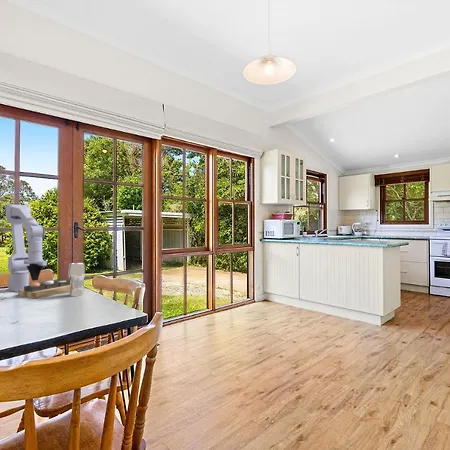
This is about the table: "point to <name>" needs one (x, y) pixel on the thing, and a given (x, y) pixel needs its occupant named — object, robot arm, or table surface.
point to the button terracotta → (34, 284)
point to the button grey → (48, 282)
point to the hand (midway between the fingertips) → (34, 280)
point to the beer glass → (76, 278)
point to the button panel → (45, 289)
